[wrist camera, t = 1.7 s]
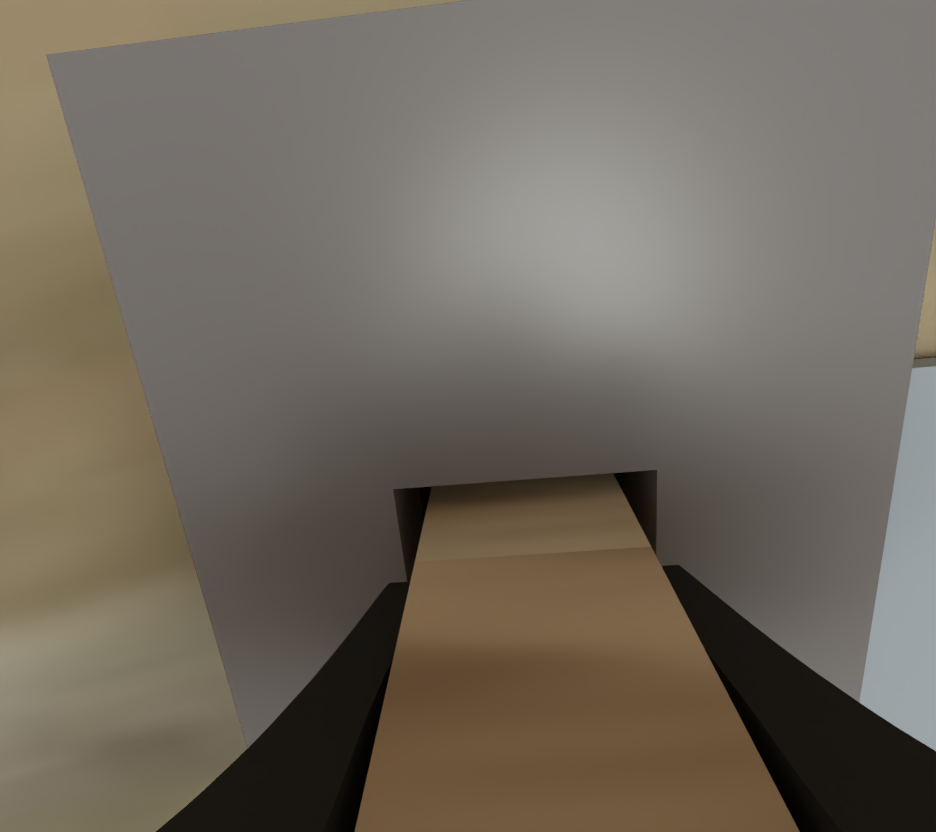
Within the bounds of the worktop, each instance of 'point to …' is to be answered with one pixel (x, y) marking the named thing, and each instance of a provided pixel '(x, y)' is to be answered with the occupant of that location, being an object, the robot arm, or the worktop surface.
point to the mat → (908, 577)
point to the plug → (554, 680)
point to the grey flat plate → (521, 291)
